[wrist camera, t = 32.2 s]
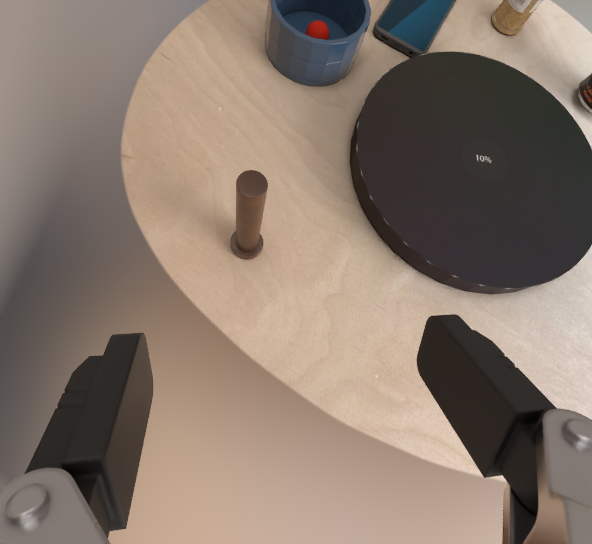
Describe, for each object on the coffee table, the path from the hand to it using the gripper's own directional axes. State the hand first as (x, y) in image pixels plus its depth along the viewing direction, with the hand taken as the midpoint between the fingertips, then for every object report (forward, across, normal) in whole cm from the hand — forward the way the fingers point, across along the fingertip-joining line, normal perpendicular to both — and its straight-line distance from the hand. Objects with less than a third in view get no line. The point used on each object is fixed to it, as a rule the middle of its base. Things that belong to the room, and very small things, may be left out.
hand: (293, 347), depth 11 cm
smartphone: (+50, -25, -14) cm, 57 cm away
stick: (+27, 0, +9) cm, 28 cm away
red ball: (+43, -10, -10) cm, 45 cm away
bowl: (+45, -9, -9) cm, 47 cm away
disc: (+33, -27, +3) cm, 43 cm away
